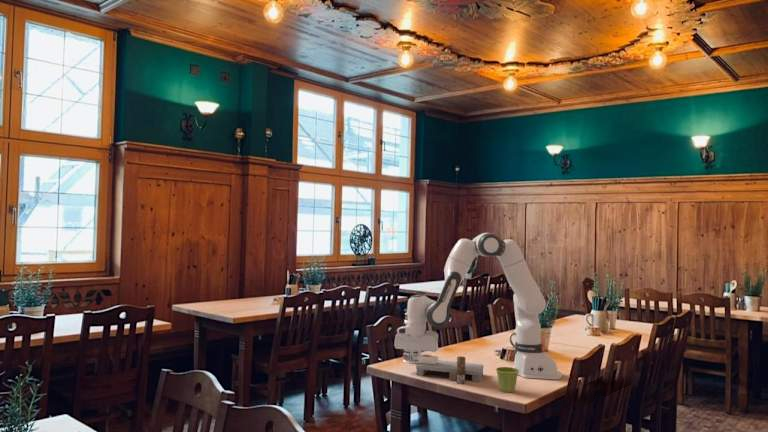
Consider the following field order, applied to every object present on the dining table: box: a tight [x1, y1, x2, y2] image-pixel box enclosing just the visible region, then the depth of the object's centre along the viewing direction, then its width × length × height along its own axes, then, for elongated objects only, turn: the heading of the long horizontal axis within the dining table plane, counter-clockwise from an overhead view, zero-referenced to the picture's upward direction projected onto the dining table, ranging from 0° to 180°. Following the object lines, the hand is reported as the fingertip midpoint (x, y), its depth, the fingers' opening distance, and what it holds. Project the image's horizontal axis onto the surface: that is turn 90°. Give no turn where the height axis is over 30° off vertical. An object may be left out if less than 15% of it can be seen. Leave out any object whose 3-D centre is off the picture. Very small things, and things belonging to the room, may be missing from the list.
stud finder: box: [419, 353, 439, 364], centre depth 262 cm, size 8×4×3 cm, turn 72°
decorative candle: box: [402, 311, 419, 364], centre depth 284 cm, size 9×9×25 cm
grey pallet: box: [415, 359, 484, 382], centre depth 259 cm, size 28×18×4 cm, turn 72°
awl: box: [456, 355, 466, 385], centre depth 246 cm, size 4×4×11 cm
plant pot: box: [495, 366, 519, 393], centre depth 236 cm, size 9×9×9 cm
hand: (415, 359), depth 264 cm, fingers closed
